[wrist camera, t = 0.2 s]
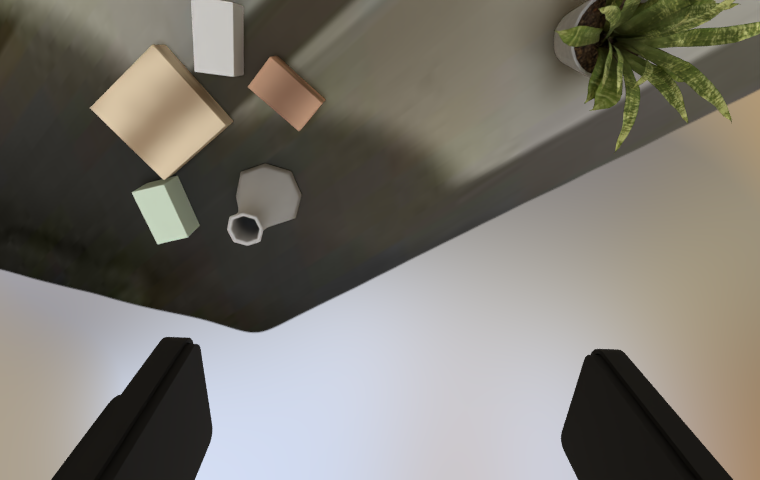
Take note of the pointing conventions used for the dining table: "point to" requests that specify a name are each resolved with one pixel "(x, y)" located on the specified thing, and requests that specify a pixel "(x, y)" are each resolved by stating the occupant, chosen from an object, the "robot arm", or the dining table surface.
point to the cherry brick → (286, 92)
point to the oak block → (161, 111)
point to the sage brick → (166, 209)
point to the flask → (263, 202)
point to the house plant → (643, 49)
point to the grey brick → (218, 37)
